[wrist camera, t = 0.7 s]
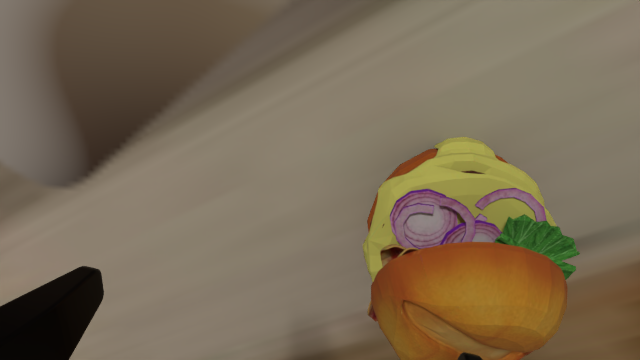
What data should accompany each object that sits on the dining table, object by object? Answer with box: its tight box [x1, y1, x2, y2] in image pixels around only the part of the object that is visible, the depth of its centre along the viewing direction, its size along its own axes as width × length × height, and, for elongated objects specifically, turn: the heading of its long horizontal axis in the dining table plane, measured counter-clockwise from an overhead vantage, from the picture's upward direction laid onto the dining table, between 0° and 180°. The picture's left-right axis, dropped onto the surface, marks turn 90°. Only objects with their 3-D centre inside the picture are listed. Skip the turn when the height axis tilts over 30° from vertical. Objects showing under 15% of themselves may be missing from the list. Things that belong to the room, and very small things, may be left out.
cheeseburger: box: [363, 137, 580, 360], centre depth 21 cm, size 10×11×10 cm
